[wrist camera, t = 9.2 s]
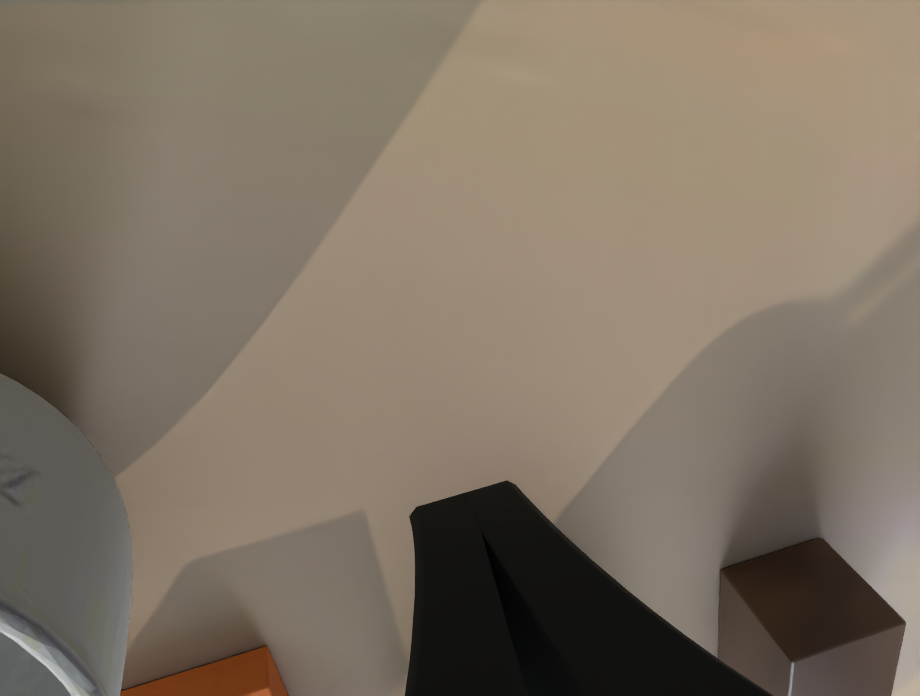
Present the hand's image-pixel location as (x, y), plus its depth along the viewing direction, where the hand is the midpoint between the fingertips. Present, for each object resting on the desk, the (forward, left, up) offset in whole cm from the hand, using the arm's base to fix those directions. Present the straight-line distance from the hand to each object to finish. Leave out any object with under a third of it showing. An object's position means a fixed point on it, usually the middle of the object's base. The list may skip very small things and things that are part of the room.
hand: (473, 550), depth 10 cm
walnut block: (-12, +18, -9) cm, 23 cm away
